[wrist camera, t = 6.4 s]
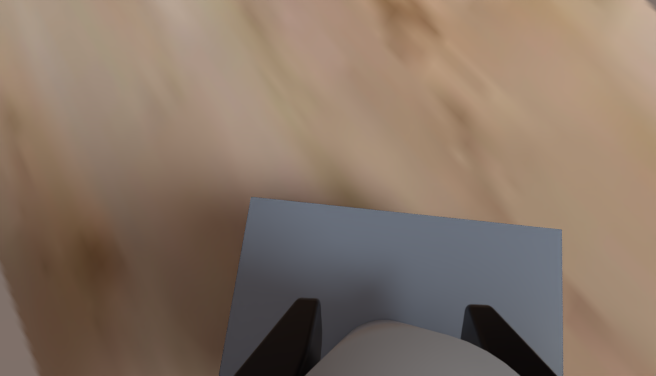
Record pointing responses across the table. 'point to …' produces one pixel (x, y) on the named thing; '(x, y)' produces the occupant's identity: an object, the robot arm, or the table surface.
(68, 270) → the table surface
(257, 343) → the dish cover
